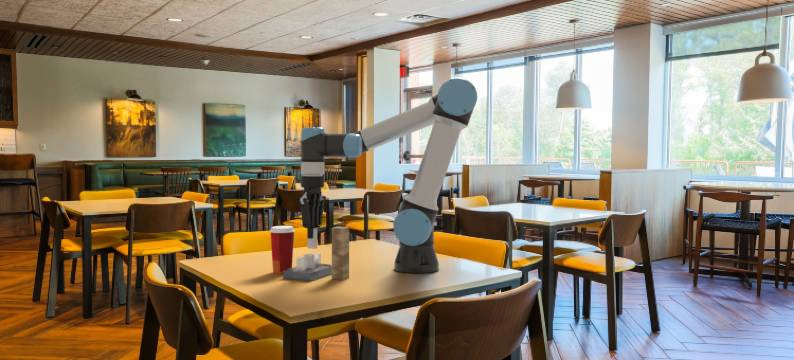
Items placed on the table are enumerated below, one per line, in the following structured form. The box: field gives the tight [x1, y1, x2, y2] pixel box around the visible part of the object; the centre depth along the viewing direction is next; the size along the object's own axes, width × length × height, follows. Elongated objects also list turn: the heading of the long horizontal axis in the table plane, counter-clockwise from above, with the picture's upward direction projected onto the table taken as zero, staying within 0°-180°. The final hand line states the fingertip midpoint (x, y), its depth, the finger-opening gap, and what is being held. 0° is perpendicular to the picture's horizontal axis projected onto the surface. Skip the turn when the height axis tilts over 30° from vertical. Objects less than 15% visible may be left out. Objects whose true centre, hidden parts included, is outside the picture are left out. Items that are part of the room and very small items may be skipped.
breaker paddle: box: [303, 253, 314, 268], centre depth 188 cm, size 3×2×4 cm, turn 66°
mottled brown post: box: [331, 226, 350, 281], centre depth 184 cm, size 4×4×16 cm
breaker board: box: [282, 252, 332, 282], centre depth 188 cm, size 10×14×6 cm
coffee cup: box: [268, 225, 296, 275], centre depth 193 cm, size 8×8×15 cm
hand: (312, 248), depth 190 cm, fingers closed
